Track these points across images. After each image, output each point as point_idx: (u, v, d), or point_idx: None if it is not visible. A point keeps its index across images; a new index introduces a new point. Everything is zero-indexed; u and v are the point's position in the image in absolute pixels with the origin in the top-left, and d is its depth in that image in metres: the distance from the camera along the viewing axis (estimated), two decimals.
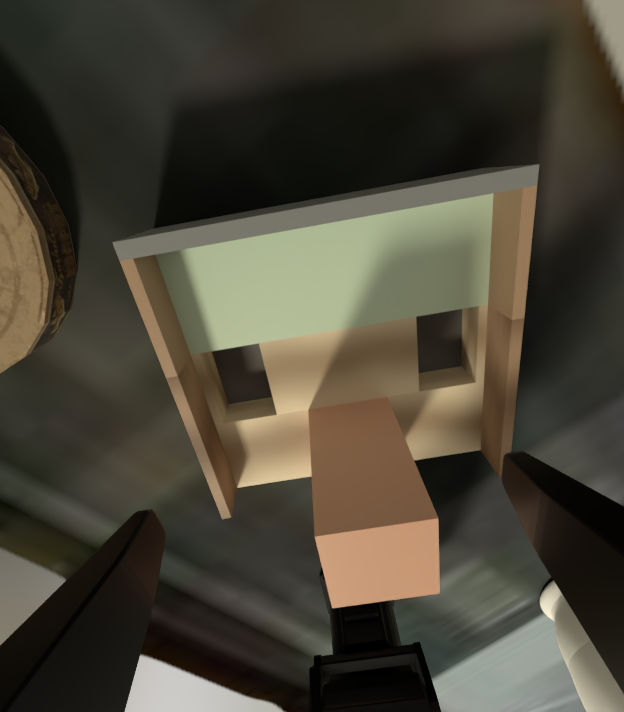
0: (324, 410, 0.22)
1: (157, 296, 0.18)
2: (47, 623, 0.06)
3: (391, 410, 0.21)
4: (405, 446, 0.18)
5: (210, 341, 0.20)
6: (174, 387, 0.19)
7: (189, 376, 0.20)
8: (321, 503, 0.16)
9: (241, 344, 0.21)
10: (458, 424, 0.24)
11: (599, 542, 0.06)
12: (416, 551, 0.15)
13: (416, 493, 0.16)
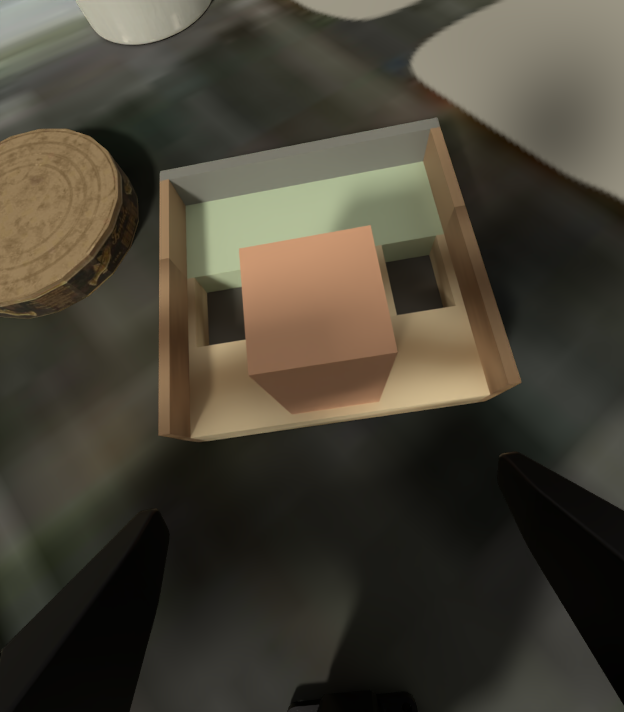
0: None
1: (176, 215, 0.24)
2: (53, 622, 0.06)
3: None
4: None
5: (206, 267, 0.24)
6: (162, 268, 0.22)
7: (179, 280, 0.23)
8: None
9: (230, 269, 0.24)
10: (450, 356, 0.21)
11: (592, 543, 0.06)
12: (353, 272, 0.13)
13: None
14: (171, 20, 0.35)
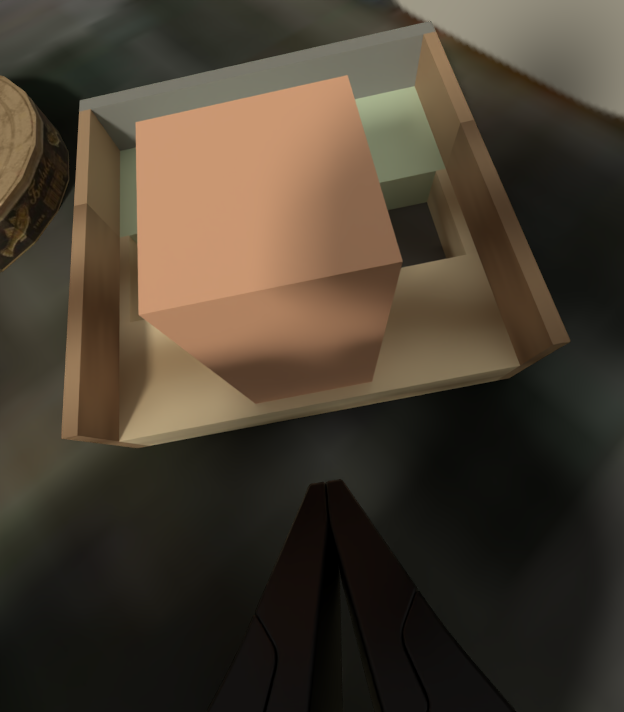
0: None
1: (102, 156, 0.19)
2: (295, 586, 0.06)
3: None
4: None
5: None
6: (78, 216, 0.16)
7: (105, 236, 0.17)
8: None
9: None
10: (463, 318, 0.16)
11: (345, 580, 0.06)
12: (321, 144, 0.08)
13: None
14: None
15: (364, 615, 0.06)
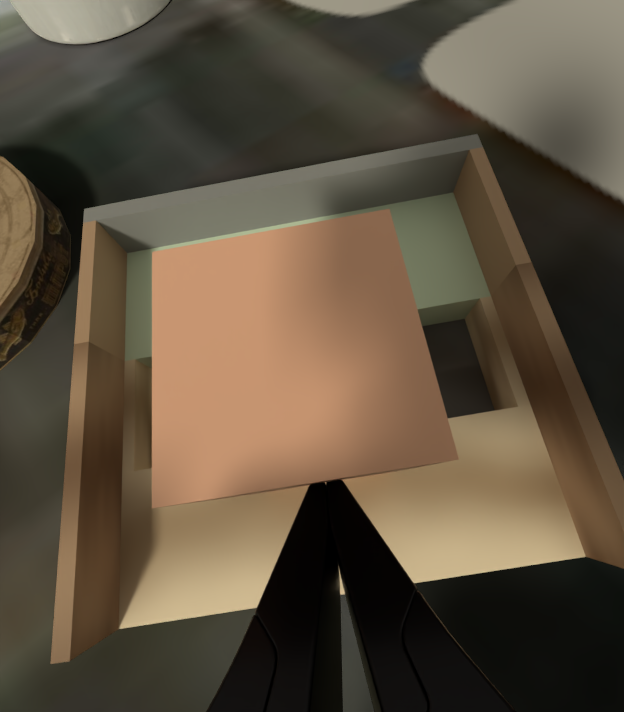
0: None
1: (108, 271, 0.17)
2: (295, 586, 0.06)
3: None
4: None
5: None
6: (78, 358, 0.14)
7: (108, 370, 0.15)
8: None
9: None
10: (517, 489, 0.14)
11: (345, 580, 0.06)
12: (361, 295, 0.07)
13: None
14: (122, 14, 0.28)
15: (364, 615, 0.06)
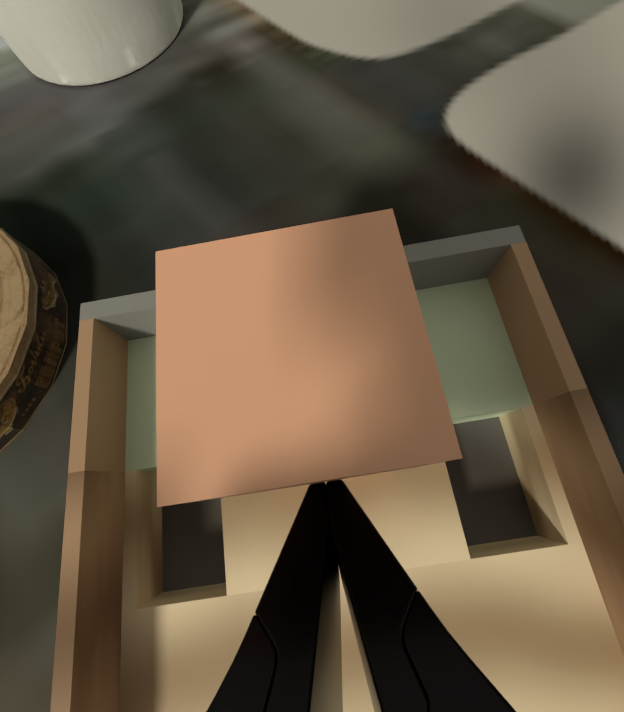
0: None
1: (107, 372, 0.15)
2: (295, 586, 0.06)
3: None
4: None
5: (156, 452, 0.15)
6: (72, 491, 0.13)
7: (107, 492, 0.14)
8: None
9: None
10: (570, 649, 0.12)
11: (345, 580, 0.06)
12: (364, 295, 0.07)
13: None
14: (124, 56, 0.26)
15: (364, 615, 0.06)
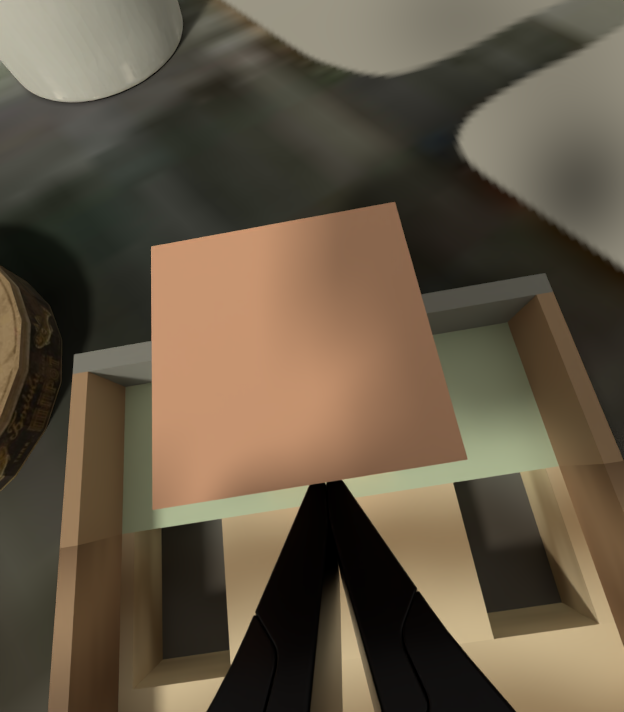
0: None
1: (102, 428, 0.14)
2: (295, 586, 0.06)
3: None
4: None
5: (155, 512, 0.14)
6: (64, 569, 0.12)
7: (102, 563, 0.13)
8: None
9: (197, 519, 0.14)
10: None
11: (345, 580, 0.06)
12: (366, 291, 0.07)
13: None
14: (121, 72, 0.25)
15: (364, 615, 0.06)
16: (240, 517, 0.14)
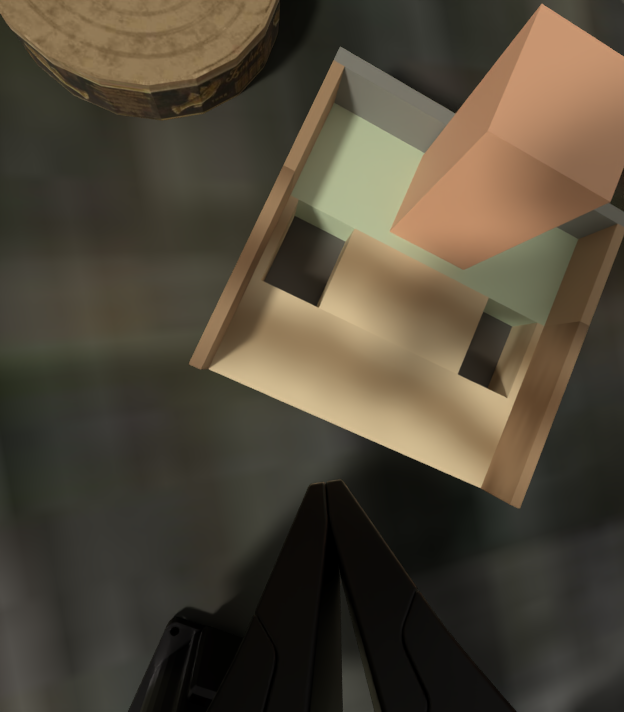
0: None
1: (324, 115, 0.19)
2: (295, 586, 0.06)
3: None
4: None
5: (317, 197, 0.20)
6: (282, 178, 0.17)
7: (286, 198, 0.19)
8: None
9: (340, 218, 0.20)
10: (473, 438, 0.21)
11: (345, 580, 0.06)
12: (619, 109, 0.13)
13: None
14: None
15: (364, 615, 0.06)
16: (365, 235, 0.21)
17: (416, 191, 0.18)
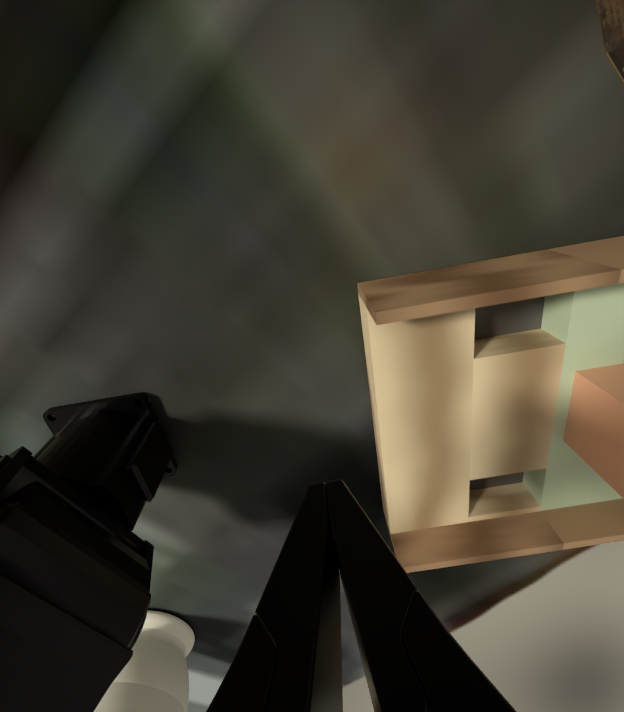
0: None
1: None
2: (295, 586, 0.06)
3: None
4: None
5: (585, 294, 0.18)
6: (605, 277, 0.15)
7: None
8: None
9: (570, 326, 0.19)
10: (424, 513, 0.25)
11: (345, 580, 0.06)
12: None
13: None
14: None
15: (364, 615, 0.06)
16: (562, 355, 0.20)
17: None
